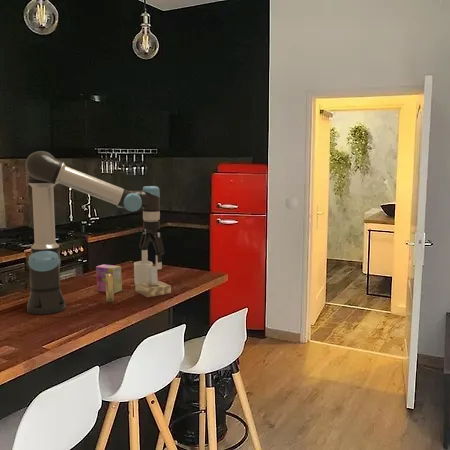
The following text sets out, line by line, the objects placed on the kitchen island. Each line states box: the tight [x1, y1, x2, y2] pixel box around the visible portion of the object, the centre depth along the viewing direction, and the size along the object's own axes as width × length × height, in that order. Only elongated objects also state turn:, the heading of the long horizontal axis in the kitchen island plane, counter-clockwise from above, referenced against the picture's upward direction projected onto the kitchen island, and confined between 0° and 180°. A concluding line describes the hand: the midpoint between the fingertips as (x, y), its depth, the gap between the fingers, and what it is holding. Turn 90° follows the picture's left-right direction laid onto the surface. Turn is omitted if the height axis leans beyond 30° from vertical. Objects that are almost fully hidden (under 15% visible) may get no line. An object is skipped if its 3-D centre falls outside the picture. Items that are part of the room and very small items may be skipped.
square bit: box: [148, 265, 159, 287], centre depth 244 cm, size 3×3×12 cm
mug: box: [133, 260, 154, 285], centre depth 260 cm, size 12×9×11 cm
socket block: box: [134, 280, 172, 298], centre depth 245 cm, size 12×12×4 cm
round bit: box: [105, 274, 115, 303], centre depth 230 cm, size 3×3×12 cm
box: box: [95, 264, 123, 294], centre depth 248 cm, size 10×6×12 cm, turn 62°
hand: (151, 266), depth 244 cm, fingers open, 13 cm apart
